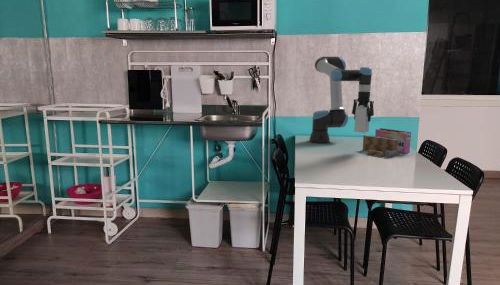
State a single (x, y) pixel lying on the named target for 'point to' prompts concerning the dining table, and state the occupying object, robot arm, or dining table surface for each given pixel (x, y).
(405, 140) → the gum box
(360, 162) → the dining table surface
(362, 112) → the milk carton
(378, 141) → the walnut shelf
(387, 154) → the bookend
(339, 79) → the robot arm
